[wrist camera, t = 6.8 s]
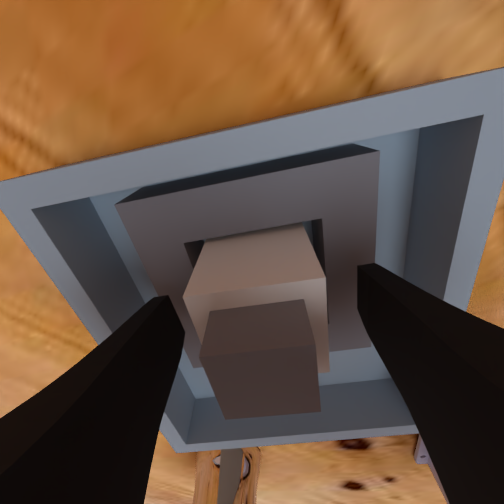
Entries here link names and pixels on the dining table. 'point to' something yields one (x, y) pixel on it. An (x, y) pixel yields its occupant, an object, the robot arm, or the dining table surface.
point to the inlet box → (277, 214)
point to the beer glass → (227, 476)
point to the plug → (261, 321)
